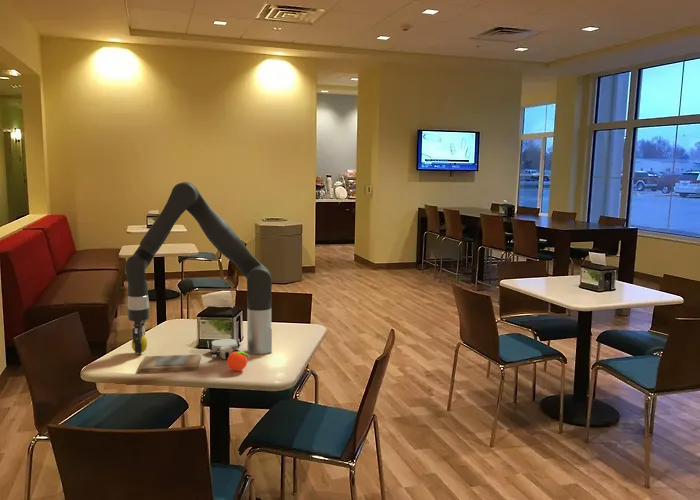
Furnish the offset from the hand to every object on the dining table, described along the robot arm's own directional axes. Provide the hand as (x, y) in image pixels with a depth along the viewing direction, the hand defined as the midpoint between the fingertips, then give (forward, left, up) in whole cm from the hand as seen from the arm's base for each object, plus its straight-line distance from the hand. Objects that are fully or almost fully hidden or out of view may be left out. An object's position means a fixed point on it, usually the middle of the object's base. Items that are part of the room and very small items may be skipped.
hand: (139, 350), depth 226 cm
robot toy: (-32, +5, -2) cm, 32 cm away
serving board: (-13, +15, -1) cm, 20 cm away
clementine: (-37, +24, -2) cm, 44 cm away
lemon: (0, 0, -2) cm, 2 cm away
